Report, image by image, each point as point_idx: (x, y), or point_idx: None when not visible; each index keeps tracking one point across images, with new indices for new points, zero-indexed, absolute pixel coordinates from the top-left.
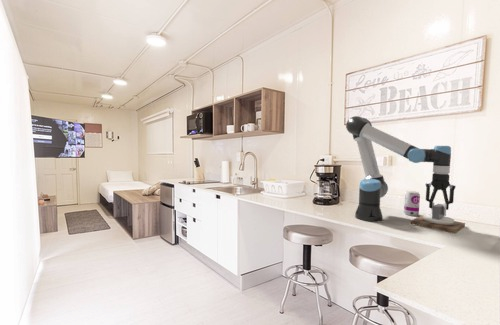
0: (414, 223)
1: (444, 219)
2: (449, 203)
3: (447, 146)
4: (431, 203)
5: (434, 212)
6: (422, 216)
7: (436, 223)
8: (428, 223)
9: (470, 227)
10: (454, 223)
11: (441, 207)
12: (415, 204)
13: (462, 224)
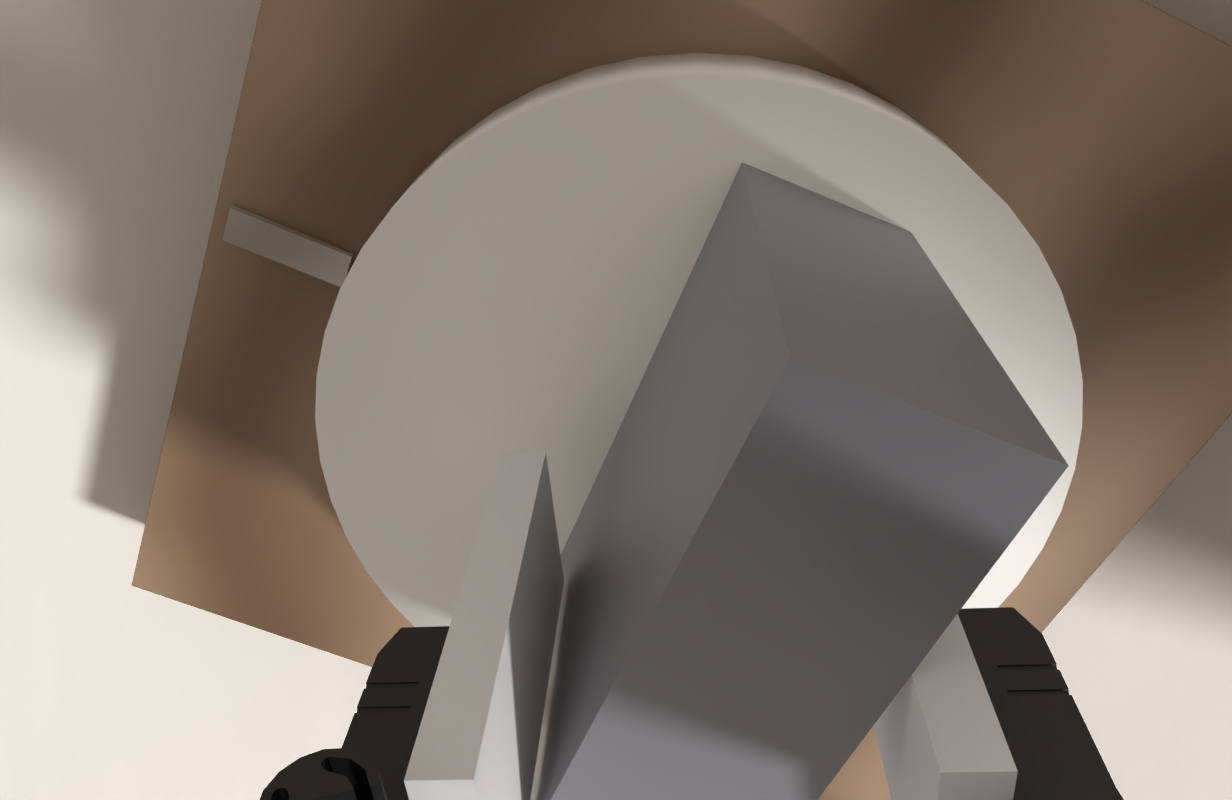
0: None
1: (552, 332)
2: (263, 798)
3: None
4: (1043, 777)
5: (905, 302)
6: None
7: (797, 67)
8: (1013, 33)
9: (78, 524)
10: None
11: (621, 632)
12: None
13: (175, 430)
